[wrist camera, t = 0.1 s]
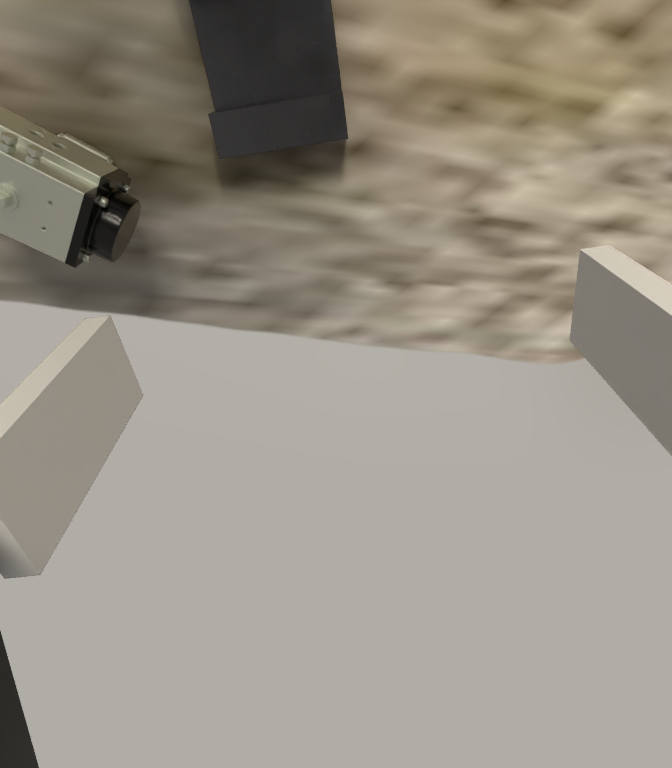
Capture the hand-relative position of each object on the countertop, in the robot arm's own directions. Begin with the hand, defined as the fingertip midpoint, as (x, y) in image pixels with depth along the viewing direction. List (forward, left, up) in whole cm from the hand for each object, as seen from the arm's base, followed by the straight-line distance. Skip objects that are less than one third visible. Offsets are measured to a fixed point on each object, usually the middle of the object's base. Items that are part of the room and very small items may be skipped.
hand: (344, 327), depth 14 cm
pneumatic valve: (-3, -18, -28) cm, 34 cm away
